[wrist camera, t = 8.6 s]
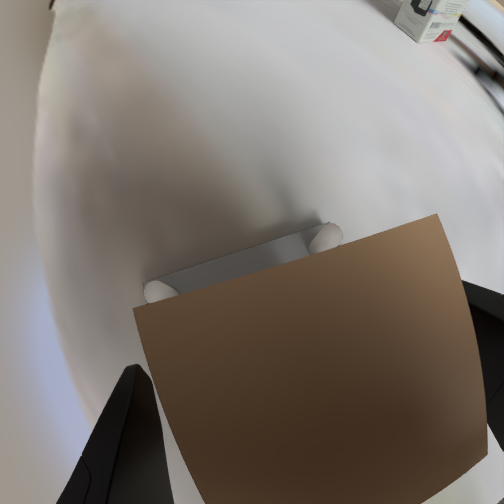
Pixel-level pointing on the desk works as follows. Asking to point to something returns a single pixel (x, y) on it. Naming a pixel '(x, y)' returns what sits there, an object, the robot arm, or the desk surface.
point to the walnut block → (325, 375)
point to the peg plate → (245, 262)
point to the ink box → (429, 18)
